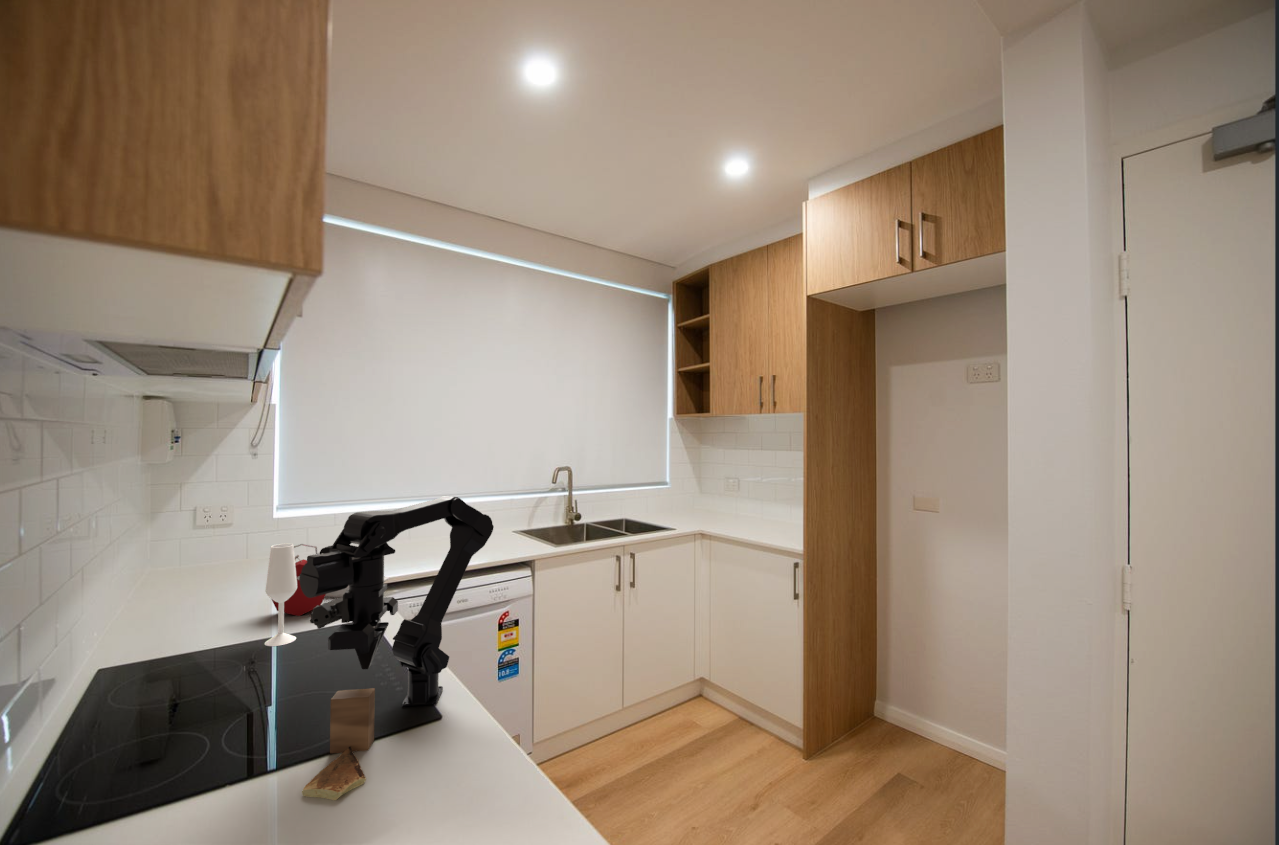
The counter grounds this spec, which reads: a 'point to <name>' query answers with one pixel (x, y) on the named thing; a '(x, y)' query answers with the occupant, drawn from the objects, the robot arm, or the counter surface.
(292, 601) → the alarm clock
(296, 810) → the counter surface
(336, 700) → the walnut slab
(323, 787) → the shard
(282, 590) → the champagne flute
